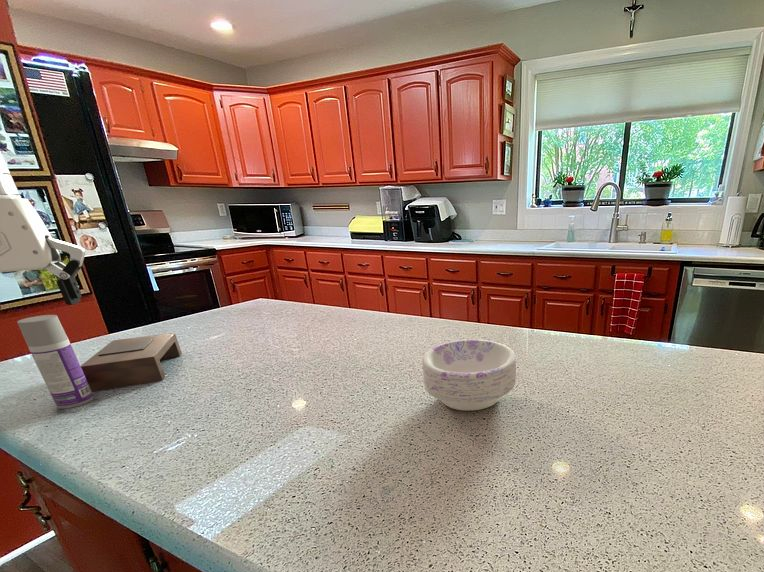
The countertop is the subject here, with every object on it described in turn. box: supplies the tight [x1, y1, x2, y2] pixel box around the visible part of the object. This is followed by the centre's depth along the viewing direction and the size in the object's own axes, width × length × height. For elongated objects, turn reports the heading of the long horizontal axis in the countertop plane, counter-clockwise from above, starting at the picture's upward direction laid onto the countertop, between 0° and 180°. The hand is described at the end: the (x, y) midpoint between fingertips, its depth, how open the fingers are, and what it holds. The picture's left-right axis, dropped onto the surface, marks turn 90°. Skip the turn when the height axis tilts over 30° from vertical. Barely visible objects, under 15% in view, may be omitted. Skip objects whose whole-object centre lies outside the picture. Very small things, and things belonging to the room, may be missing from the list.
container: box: [16, 314, 95, 410], centre depth 66 cm, size 5×5×15 cm
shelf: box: [80, 332, 183, 393], centre depth 80 cm, size 11×16×5 cm
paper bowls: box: [421, 339, 517, 412], centre depth 65 cm, size 15×15×8 cm
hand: (34, 307), depth 62 cm, fingers open, 9 cm apart
